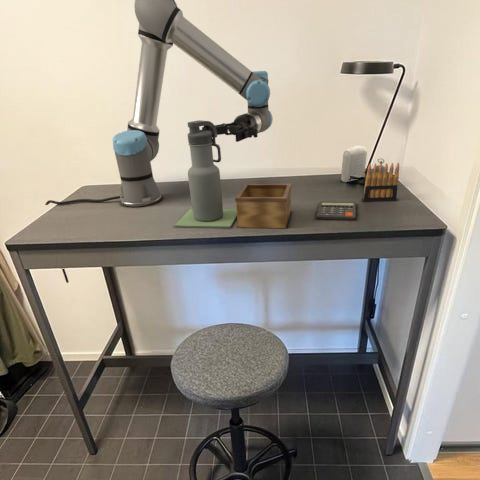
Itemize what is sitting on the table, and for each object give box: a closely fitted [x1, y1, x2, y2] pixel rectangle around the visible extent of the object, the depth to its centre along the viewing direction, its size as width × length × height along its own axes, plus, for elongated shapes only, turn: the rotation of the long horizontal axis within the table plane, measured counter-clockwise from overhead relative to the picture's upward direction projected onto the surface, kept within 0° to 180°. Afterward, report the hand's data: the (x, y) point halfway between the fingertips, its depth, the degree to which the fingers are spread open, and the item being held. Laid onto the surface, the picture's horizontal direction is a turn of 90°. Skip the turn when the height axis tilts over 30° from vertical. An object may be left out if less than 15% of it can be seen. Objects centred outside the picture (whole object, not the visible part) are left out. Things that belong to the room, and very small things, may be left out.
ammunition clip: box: [362, 162, 400, 202], centre depth 131 cm, size 11×2×12 cm, turn 85°
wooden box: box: [234, 183, 292, 229], centre depth 122 cm, size 15×15×9 cm
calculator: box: [315, 200, 357, 221], centre depth 127 cm, size 12×1×15 cm
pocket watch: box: [371, 158, 389, 182], centre depth 145 cm, size 8×8×10 cm
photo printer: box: [340, 145, 368, 183], centre depth 153 cm, size 10×4×12 cm, turn 123°
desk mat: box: [174, 208, 237, 229], centre depth 129 cm, size 18×16×1 cm
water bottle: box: [187, 119, 224, 222], centre depth 120 cm, size 10×10×28 cm
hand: (217, 136), depth 123 cm, fingers open, 13 cm apart
